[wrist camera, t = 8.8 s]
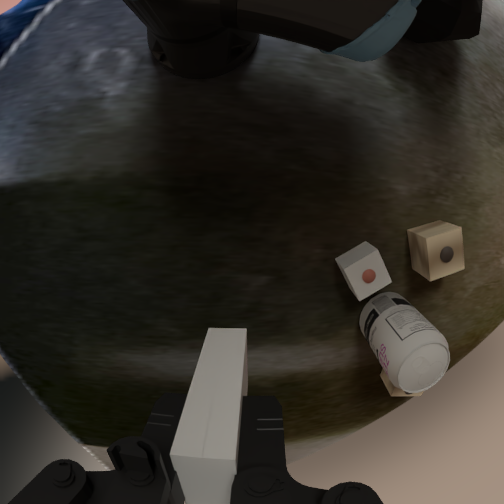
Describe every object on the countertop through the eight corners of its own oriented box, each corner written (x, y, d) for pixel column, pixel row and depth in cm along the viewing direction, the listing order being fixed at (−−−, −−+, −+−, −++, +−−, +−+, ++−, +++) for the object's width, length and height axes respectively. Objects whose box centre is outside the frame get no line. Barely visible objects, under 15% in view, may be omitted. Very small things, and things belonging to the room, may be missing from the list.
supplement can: (415, 310, 44) (464, 358, 30) (379, 347, 46) (415, 406, 31) (385, 279, 43) (433, 324, 29) (347, 320, 45) (379, 379, 30)
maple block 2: (406, 229, 41) (426, 238, 35) (439, 220, 41) (462, 227, 35) (411, 268, 43) (431, 281, 37) (443, 257, 42) (465, 269, 36)
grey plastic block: (334, 258, 43) (344, 269, 38) (365, 240, 42) (378, 249, 37) (349, 287, 44) (359, 301, 39) (379, 270, 43) (392, 282, 38)
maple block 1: (391, 344, 46) (405, 365, 40) (421, 346, 46) (436, 366, 40) (379, 375, 47) (391, 397, 41) (408, 376, 47) (421, 396, 41)
